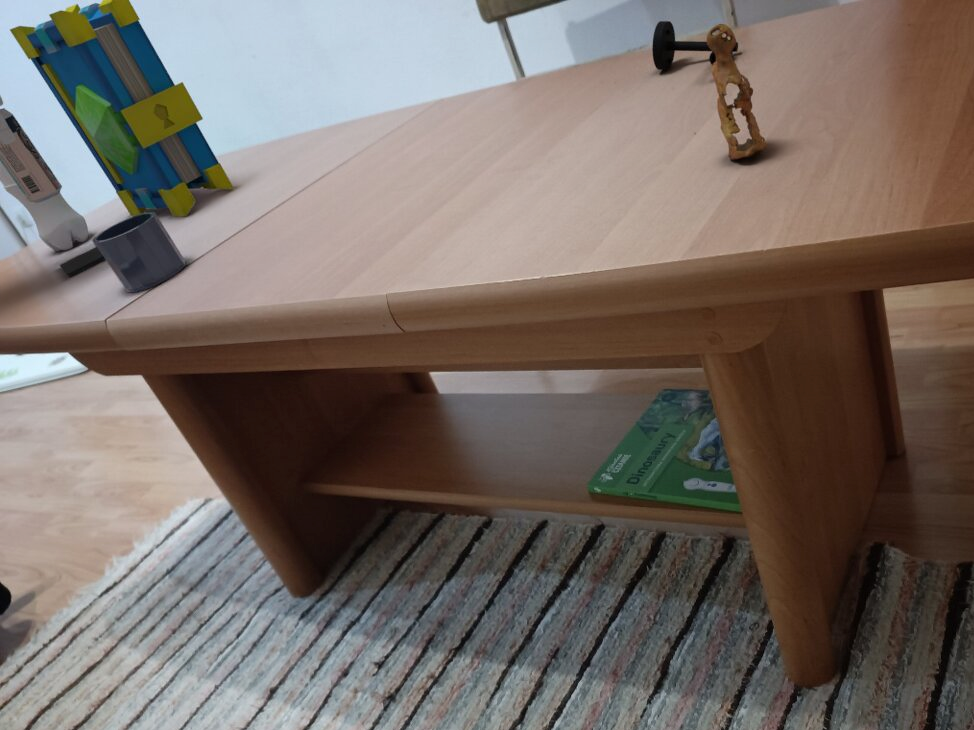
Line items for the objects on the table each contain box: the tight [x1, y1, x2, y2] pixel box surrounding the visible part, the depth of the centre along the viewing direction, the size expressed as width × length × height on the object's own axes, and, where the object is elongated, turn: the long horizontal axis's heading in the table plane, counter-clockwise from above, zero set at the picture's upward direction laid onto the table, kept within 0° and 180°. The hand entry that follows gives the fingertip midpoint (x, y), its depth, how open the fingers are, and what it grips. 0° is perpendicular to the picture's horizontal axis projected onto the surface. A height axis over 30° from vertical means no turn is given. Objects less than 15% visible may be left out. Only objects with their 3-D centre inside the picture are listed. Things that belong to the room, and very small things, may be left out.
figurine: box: [706, 23, 768, 161], centre depth 80 cm, size 5×6×12 cm
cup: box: [91, 211, 187, 293], centre depth 110 cm, size 8×8×7 cm
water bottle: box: [0, 133, 89, 252], centre depth 135 cm, size 7×7×25 cm
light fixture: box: [651, 20, 739, 71], centre depth 112 cm, size 6×11×13 cm
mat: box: [59, 246, 105, 278], centre depth 129 cm, size 8×8×1 cm
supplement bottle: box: [0, 107, 63, 203], centre depth 121 cm, size 5×5×12 cm
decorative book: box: [9, 0, 235, 218], centre depth 134 cm, size 14×23×30 cm, turn 53°
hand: (8, 141), depth 119 cm, fingers closed on supplement bottle, 5 cm apart
